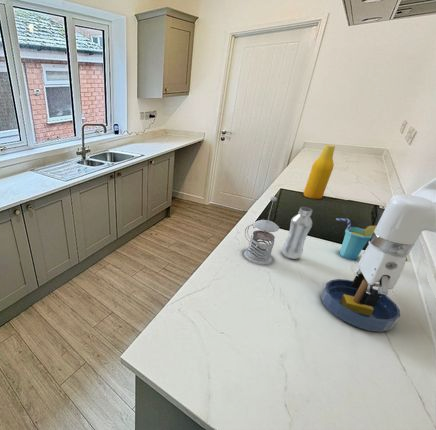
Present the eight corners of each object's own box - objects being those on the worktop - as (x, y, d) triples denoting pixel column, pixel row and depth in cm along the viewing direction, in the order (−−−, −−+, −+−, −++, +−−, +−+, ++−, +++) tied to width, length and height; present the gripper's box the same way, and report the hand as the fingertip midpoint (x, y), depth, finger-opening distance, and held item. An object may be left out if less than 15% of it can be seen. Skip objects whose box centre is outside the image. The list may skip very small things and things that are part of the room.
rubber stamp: (365, 306, 77) (380, 280, 72) (370, 316, 74) (386, 289, 69) (340, 300, 79) (353, 274, 75) (343, 309, 76) (357, 282, 72)
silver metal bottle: (290, 262, 97) (307, 214, 88) (276, 252, 103) (290, 206, 94) (304, 259, 98) (322, 212, 89) (289, 249, 104) (305, 204, 95)
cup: (324, 255, 100) (339, 221, 94) (321, 245, 106) (334, 212, 100) (371, 265, 94) (390, 229, 88) (365, 254, 101) (382, 220, 94)
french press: (263, 267, 95) (281, 205, 83) (234, 252, 103) (247, 194, 92) (277, 258, 99) (296, 198, 88) (248, 244, 108) (263, 188, 97)
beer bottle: (323, 195, 152) (342, 145, 138) (320, 200, 146) (339, 148, 132) (304, 192, 157) (321, 143, 144) (301, 196, 151) (317, 146, 138)
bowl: (379, 299, 80) (386, 288, 78) (403, 341, 67) (412, 329, 65) (315, 284, 86) (320, 273, 84) (326, 320, 73) (332, 309, 71)
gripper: (429, 266, 58) (391, 323, 66) (395, 230, 72) (367, 280, 80) (384, 257, 61) (354, 313, 69) (360, 224, 75) (337, 274, 83)
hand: (361, 295), depth 74 cm, fingers open, 6 cm apart
